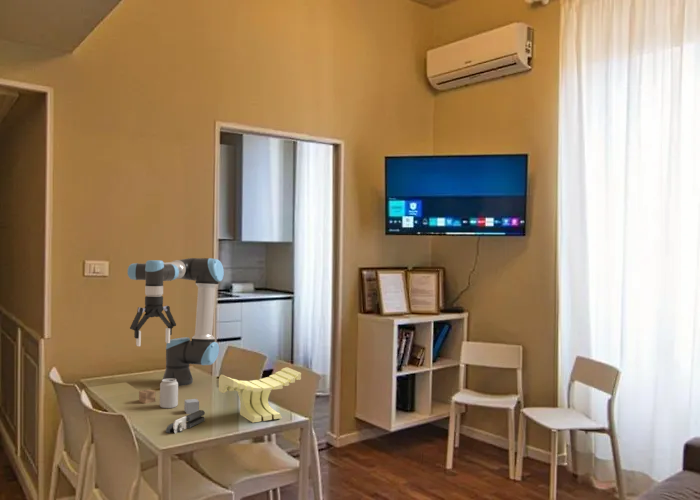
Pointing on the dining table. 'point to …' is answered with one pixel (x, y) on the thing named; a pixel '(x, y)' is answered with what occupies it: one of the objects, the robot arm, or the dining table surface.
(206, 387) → the dining table surface
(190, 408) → the slate grey block
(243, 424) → the dining table surface
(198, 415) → the can opener
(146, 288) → the robot arm
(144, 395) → the walnut block
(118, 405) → the dining table surface
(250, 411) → the slatted curved stool
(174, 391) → the can
